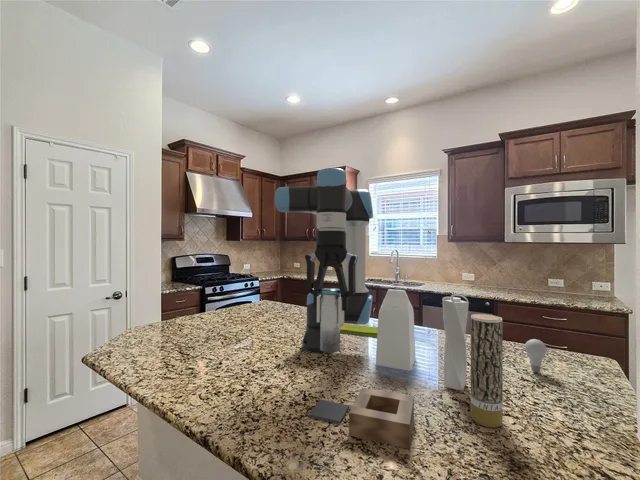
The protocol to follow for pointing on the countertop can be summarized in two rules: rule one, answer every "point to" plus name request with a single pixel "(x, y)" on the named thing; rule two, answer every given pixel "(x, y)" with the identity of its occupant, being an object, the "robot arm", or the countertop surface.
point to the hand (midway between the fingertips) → (330, 322)
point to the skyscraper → (455, 341)
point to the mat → (329, 411)
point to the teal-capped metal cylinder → (329, 320)
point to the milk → (396, 332)
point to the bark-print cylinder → (487, 369)
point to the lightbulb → (535, 353)
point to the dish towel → (359, 330)
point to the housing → (382, 417)
